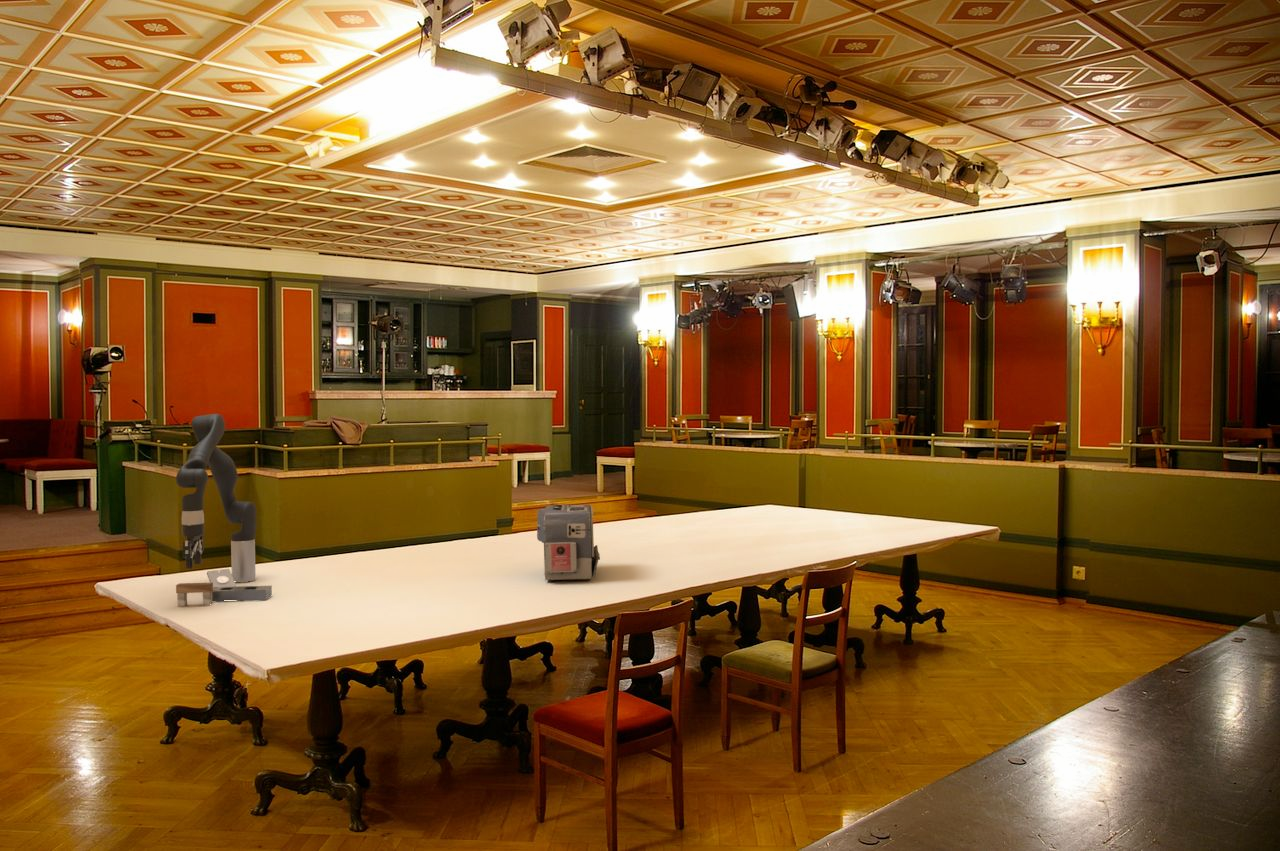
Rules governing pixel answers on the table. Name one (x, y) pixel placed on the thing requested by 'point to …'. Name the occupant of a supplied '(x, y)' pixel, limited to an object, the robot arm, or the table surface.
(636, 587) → the table surface
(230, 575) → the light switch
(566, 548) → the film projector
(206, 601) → the brown u-shaped block
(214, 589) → the grey slotted holder
